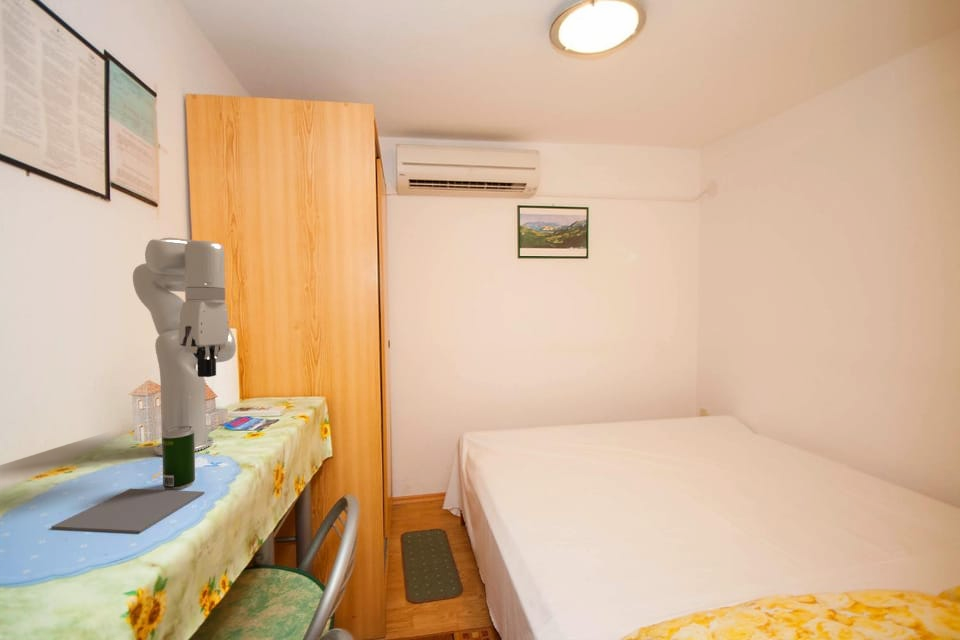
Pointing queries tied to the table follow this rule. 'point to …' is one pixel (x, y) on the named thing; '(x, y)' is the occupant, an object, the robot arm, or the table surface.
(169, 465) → the green soda can
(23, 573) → the table surface
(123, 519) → the mat
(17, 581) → the table surface
